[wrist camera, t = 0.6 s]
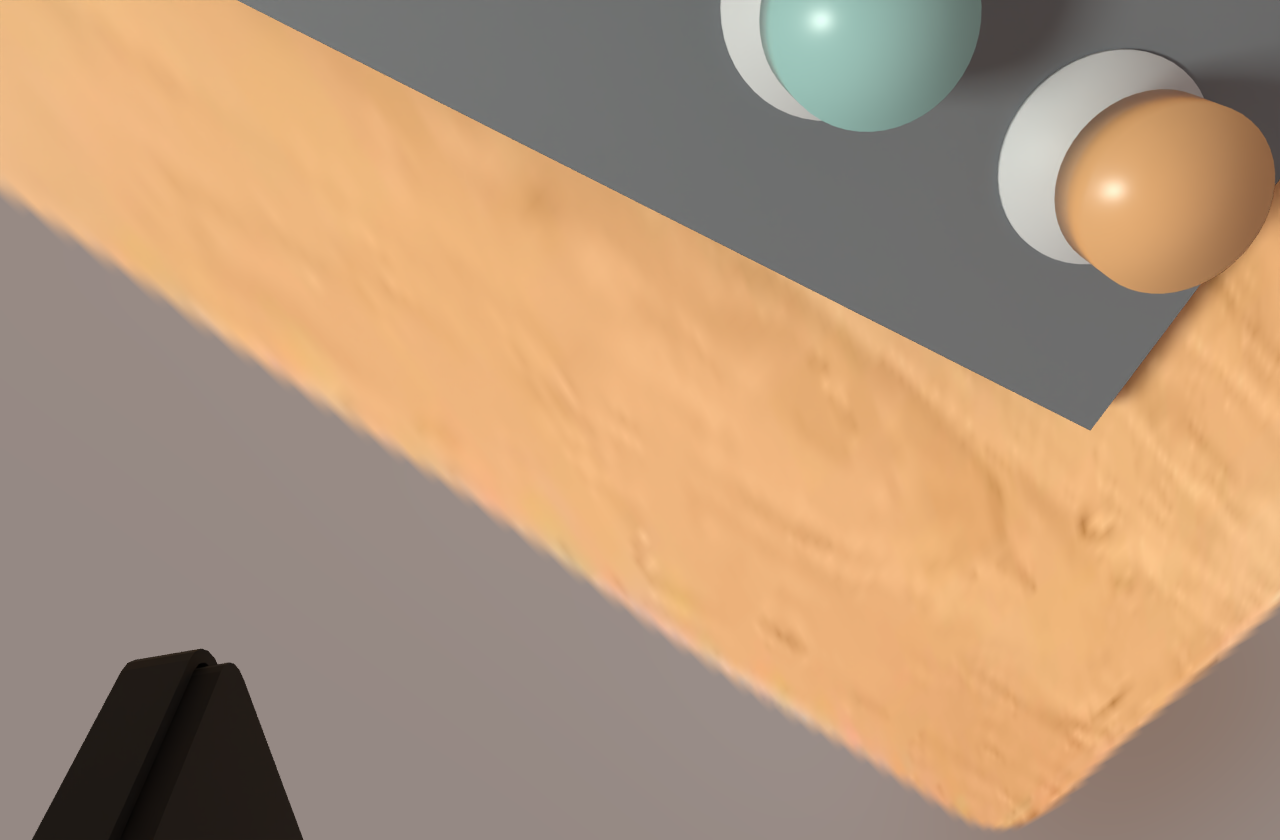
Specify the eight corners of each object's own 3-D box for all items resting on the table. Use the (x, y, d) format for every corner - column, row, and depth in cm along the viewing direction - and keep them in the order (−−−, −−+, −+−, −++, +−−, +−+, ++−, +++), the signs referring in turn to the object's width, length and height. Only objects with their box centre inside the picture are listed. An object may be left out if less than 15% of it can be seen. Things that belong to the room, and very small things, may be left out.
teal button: (817, -134, 27) (844, -134, 25) (981, -34, 29) (1023, -23, 26) (717, 53, 29) (733, 71, 27) (876, 141, 30) (905, 166, 28)
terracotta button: (1113, 48, 30) (1165, 66, 27) (1253, 134, 31) (1315, 159, 29) (1004, 212, 31) (1044, 243, 29) (1141, 287, 33) (1190, 323, 30)
